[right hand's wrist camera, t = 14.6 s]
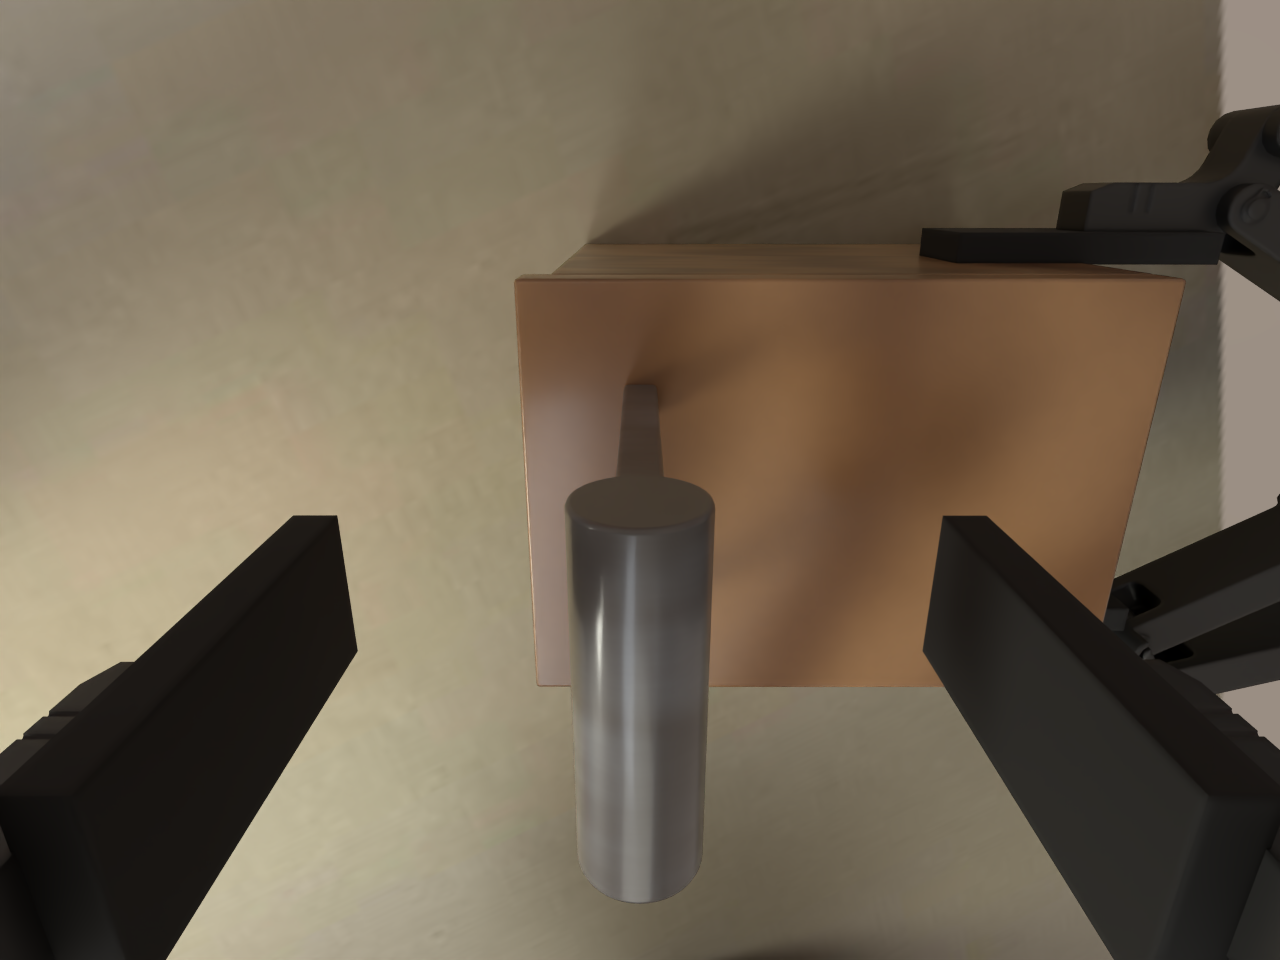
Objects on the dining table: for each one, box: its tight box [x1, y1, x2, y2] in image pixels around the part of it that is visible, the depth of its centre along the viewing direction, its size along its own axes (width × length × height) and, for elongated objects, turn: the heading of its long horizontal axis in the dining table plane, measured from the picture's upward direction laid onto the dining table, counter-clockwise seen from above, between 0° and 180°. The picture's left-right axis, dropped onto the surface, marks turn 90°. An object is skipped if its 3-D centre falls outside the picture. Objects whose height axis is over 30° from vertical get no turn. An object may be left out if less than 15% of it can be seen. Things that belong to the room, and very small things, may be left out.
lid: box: [514, 274, 1186, 904], centre depth 14 cm, size 14×10×9 cm
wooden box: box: [552, 244, 1153, 275], centre depth 23 cm, size 13×10×11 cm
